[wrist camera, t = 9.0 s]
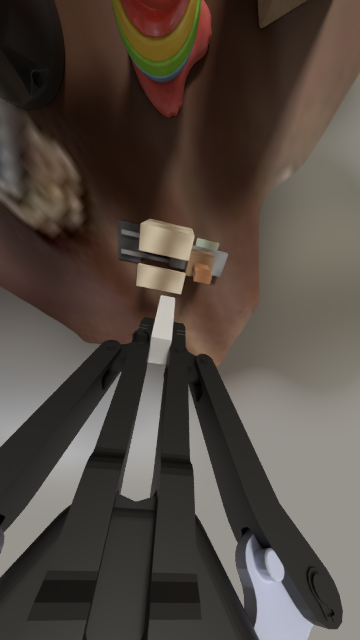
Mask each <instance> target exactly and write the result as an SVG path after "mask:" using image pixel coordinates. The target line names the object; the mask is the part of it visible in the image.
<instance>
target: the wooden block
mask: <svg viewBox="0 0 360 640" xmlns="http://www.w3.org/2000/svg"><path fill="white" fill-rule="evenodd" d="M305 1H307V0H258V14H259V26H260V28H264V27H265V26H267V25H268V24H270V23H272V22H273V21H275V20H276V19H278V18H280V17H281V16H283V15H284V14H286V13H288V12H289V11H291V10H293V9H294V8H296V7H297V6H299V5H301V4H302V3H304V2H305Z"/></svg>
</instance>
